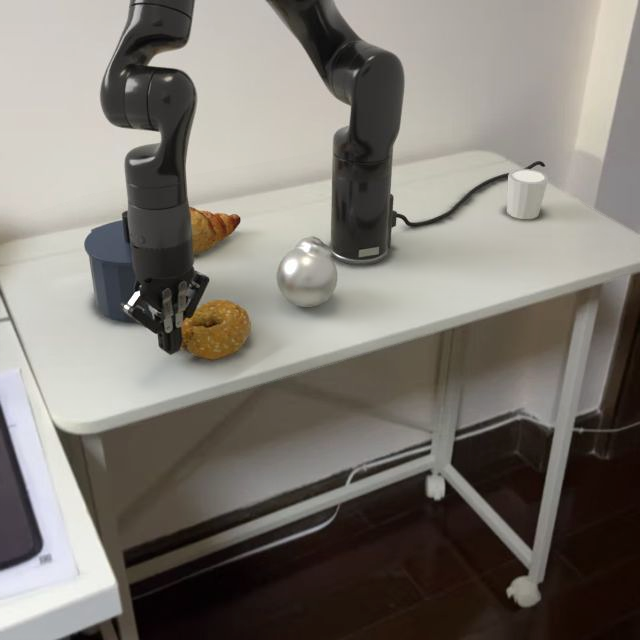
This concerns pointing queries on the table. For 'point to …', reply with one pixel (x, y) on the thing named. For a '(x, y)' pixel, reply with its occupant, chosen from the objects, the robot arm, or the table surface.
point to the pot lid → (110, 243)
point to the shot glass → (525, 193)
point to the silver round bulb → (307, 273)
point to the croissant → (210, 228)
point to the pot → (114, 289)
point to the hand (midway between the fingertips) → (170, 350)
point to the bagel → (216, 329)
